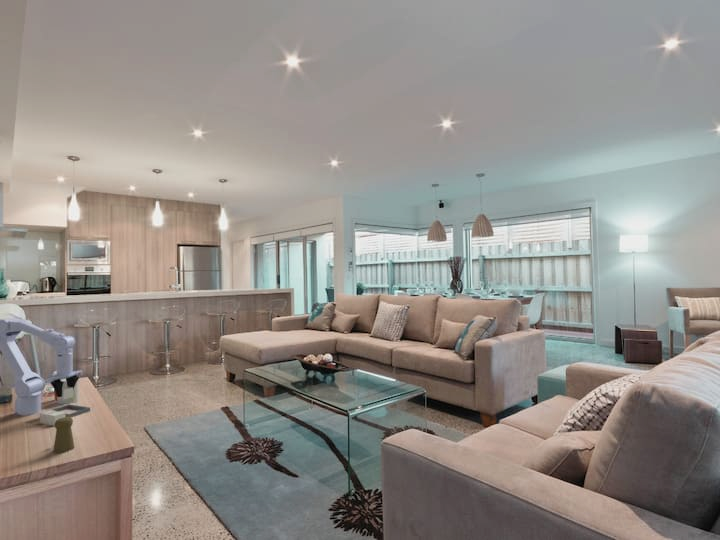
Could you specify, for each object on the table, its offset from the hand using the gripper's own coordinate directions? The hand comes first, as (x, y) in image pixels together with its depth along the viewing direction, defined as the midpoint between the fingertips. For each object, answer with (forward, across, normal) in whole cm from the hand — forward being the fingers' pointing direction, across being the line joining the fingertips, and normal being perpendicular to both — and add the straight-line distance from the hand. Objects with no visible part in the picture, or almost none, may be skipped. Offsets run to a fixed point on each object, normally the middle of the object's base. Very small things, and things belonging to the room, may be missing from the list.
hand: (64, 395), depth 174 cm
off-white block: (+7, -10, -10) cm, 16 cm away
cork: (+9, -23, -34) cm, 42 cm away
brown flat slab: (+9, -10, -4) cm, 14 cm away
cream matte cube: (+1, 0, 0) cm, 1 cm away
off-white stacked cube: (+7, -10, -6) cm, 14 cm away
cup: (+9, +11, +14) cm, 20 cm away
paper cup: (+9, +15, +24) cm, 30 cm away
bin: (+9, 0, -2) cm, 9 cm away
